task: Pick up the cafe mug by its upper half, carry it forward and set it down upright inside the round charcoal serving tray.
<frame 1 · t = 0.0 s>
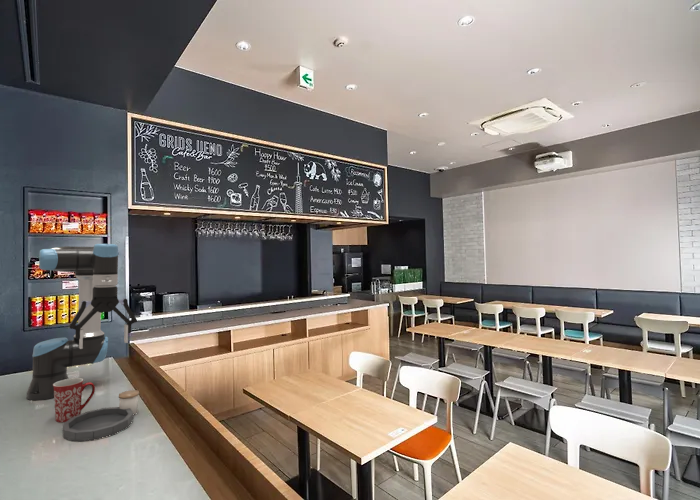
hand: (104, 345, 131), 28 cm above the counter, fingers open, 13 cm apart
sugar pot: (128, 413, 139), on the counter
tray: (99, 427, 128), on the counter
mug: (73, 417, 136), on the counter
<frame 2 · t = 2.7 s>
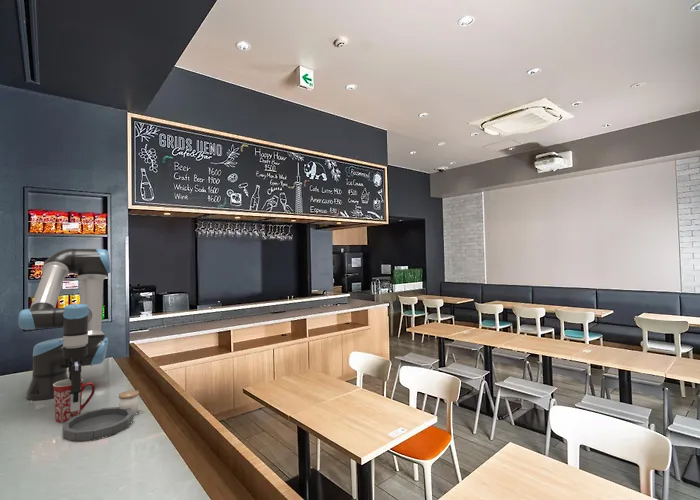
hand: (74, 406, 136), 4 cm above the counter, fingers closed on mug, 8 cm apart
mug: (73, 417, 136), on the counter, touching gripper
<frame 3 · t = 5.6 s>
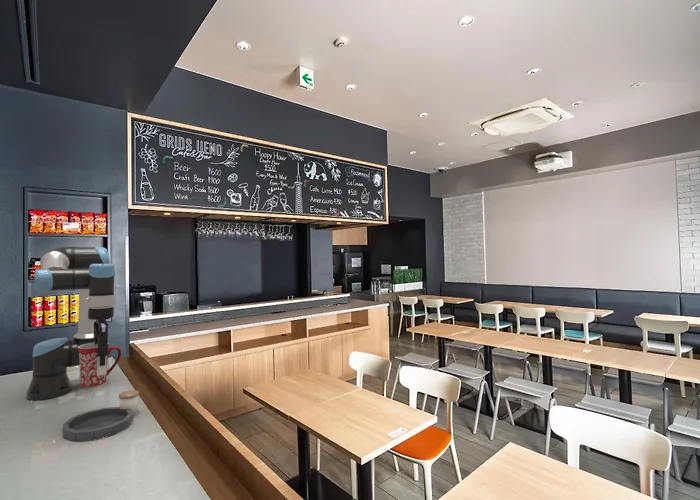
hand: (99, 371, 128), 19 cm above the counter, fingers closed on mug, 8 cm apart
mug: (99, 383, 128), point 15 cm above the counter, touching gripper
when the fingers open (6 cm above the counter, at t = 8.5 s): mug stays where it is, resting on tray.
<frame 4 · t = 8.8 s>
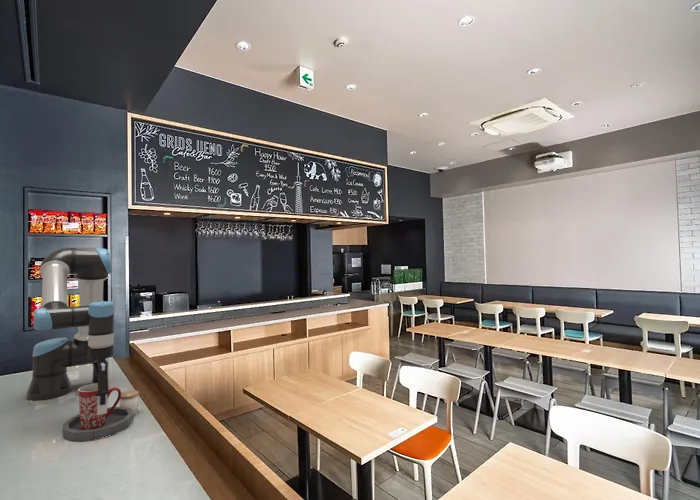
hand: (99, 408, 128), 7 cm above the counter, fingers open, 11 cm apart
mug: (98, 425, 127), point 1 cm above the counter, touching tray
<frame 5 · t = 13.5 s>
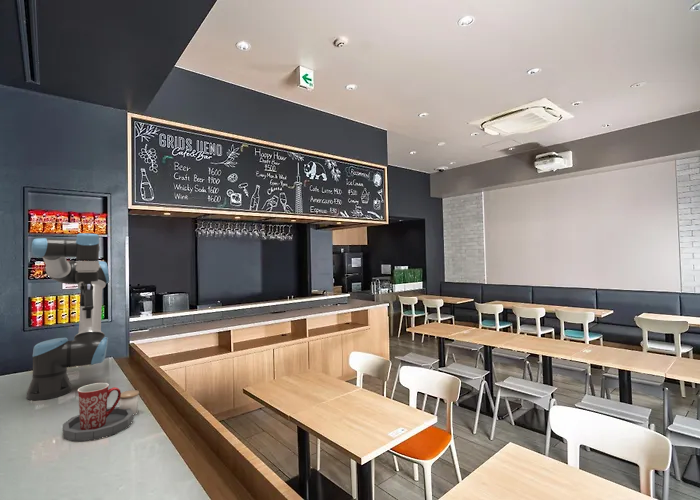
hand: (85, 324, 147), 33 cm above the counter, fingers open, 13 cm apart
nothing on the counter moved.
at the end: mug 0.2 cm from the tray (horizontally); mug tilted 0°; the gripper is holding nothing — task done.
